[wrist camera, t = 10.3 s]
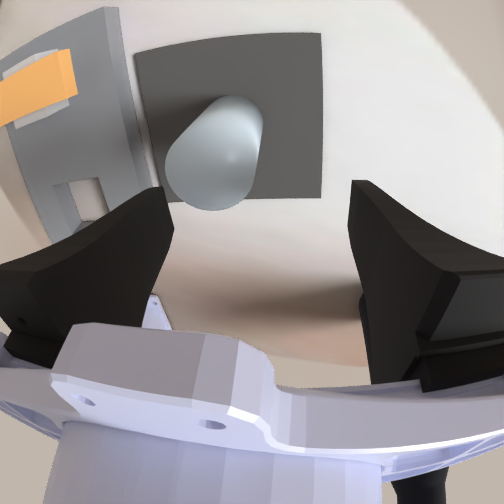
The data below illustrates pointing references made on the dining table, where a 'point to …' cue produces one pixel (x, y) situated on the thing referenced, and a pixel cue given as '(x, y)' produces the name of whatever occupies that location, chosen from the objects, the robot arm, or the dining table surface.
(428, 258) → the robot arm
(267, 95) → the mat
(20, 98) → the plunger
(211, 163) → the cylinder
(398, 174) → the dining table surface
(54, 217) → the housing
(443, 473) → the black bottle
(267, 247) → the dining table surface
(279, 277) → the dining table surface
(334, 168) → the dining table surface
